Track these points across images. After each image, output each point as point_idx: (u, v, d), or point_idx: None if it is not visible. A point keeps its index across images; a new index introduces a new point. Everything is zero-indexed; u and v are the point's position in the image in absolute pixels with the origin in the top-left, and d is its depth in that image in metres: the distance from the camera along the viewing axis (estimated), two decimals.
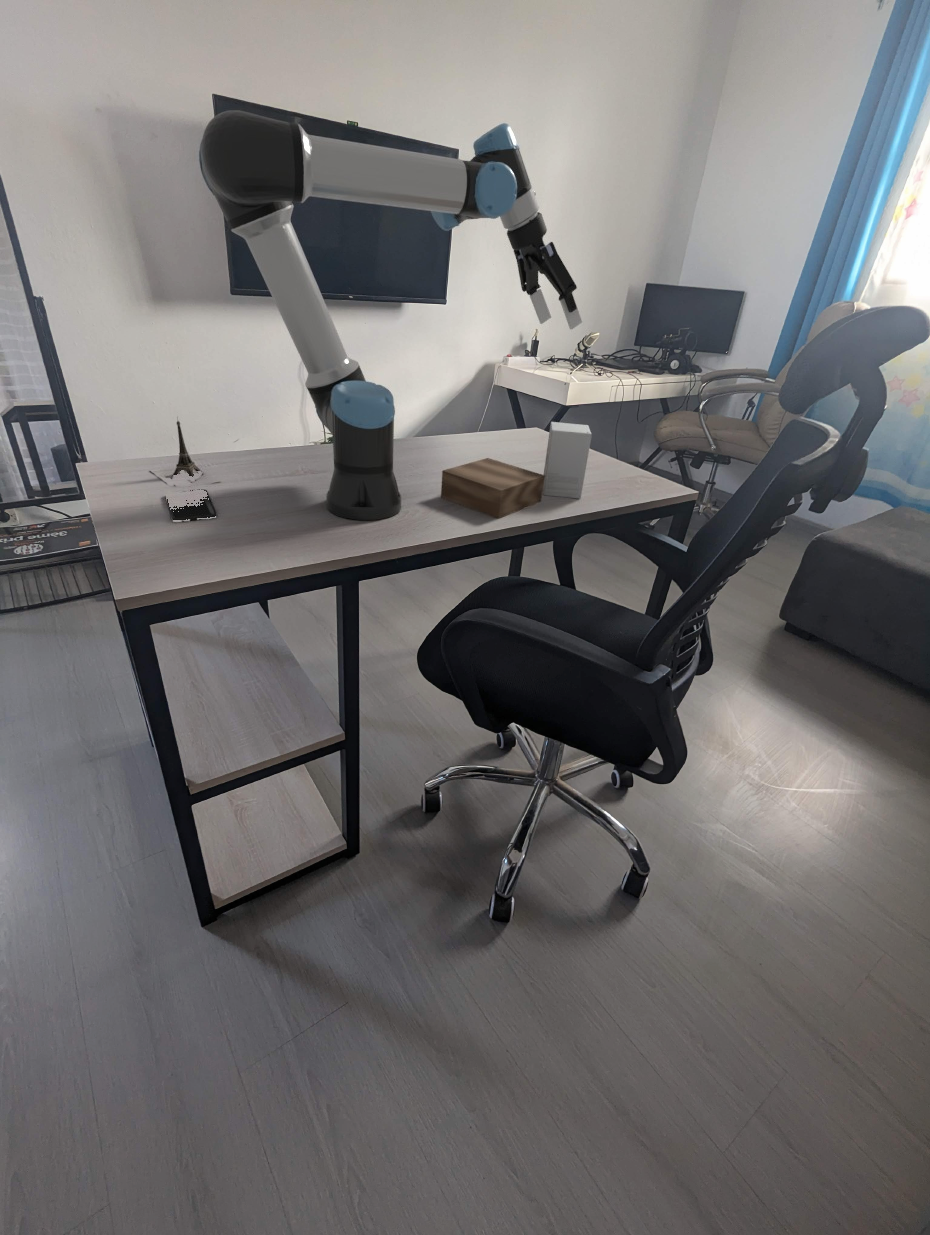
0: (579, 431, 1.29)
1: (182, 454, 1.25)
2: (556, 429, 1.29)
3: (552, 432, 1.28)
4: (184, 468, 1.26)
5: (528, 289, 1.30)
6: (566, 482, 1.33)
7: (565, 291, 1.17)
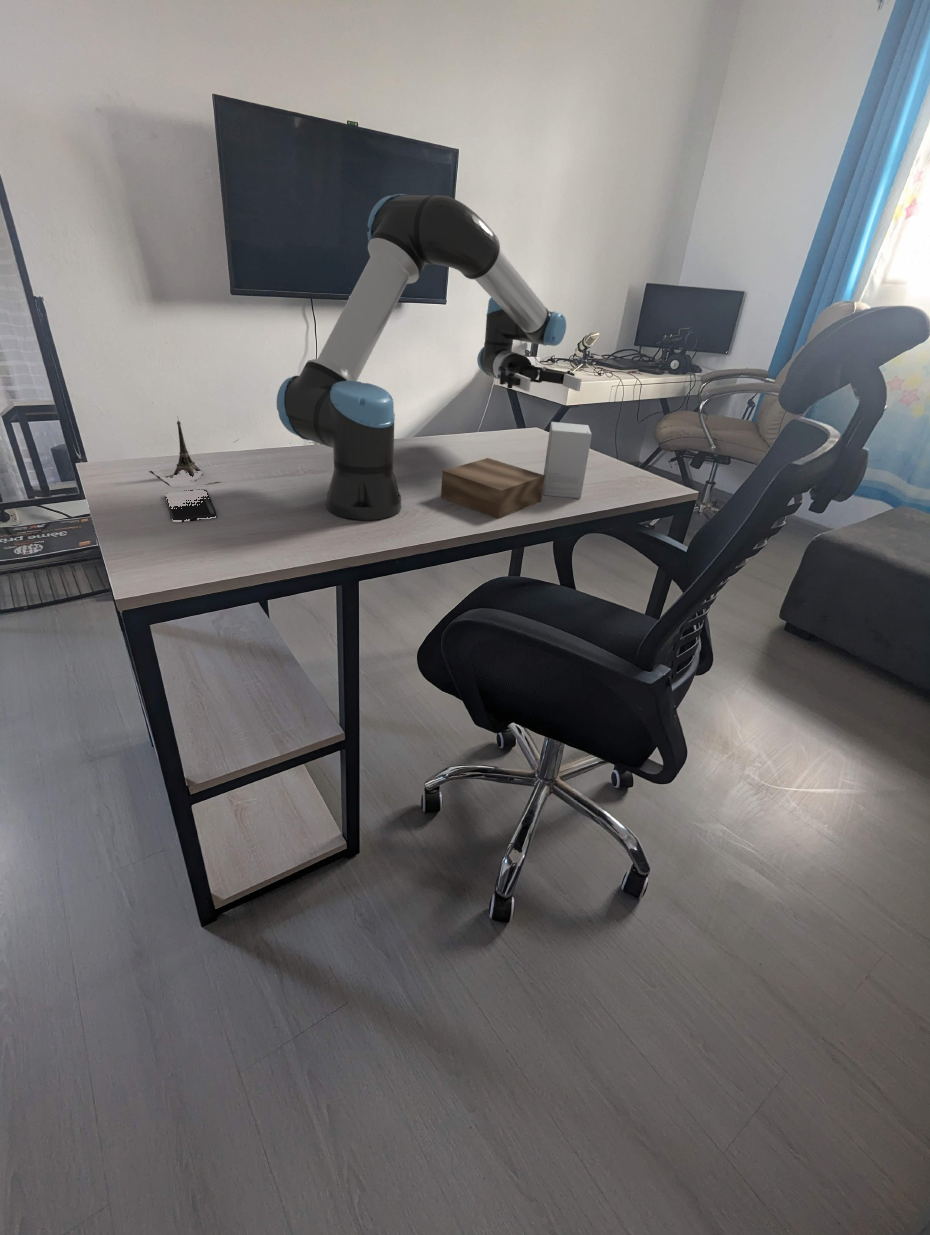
0: (579, 431, 1.29)
1: (182, 454, 1.25)
2: (556, 429, 1.29)
3: (552, 432, 1.28)
4: (184, 468, 1.26)
5: (513, 373, 1.38)
6: (566, 482, 1.33)
7: None
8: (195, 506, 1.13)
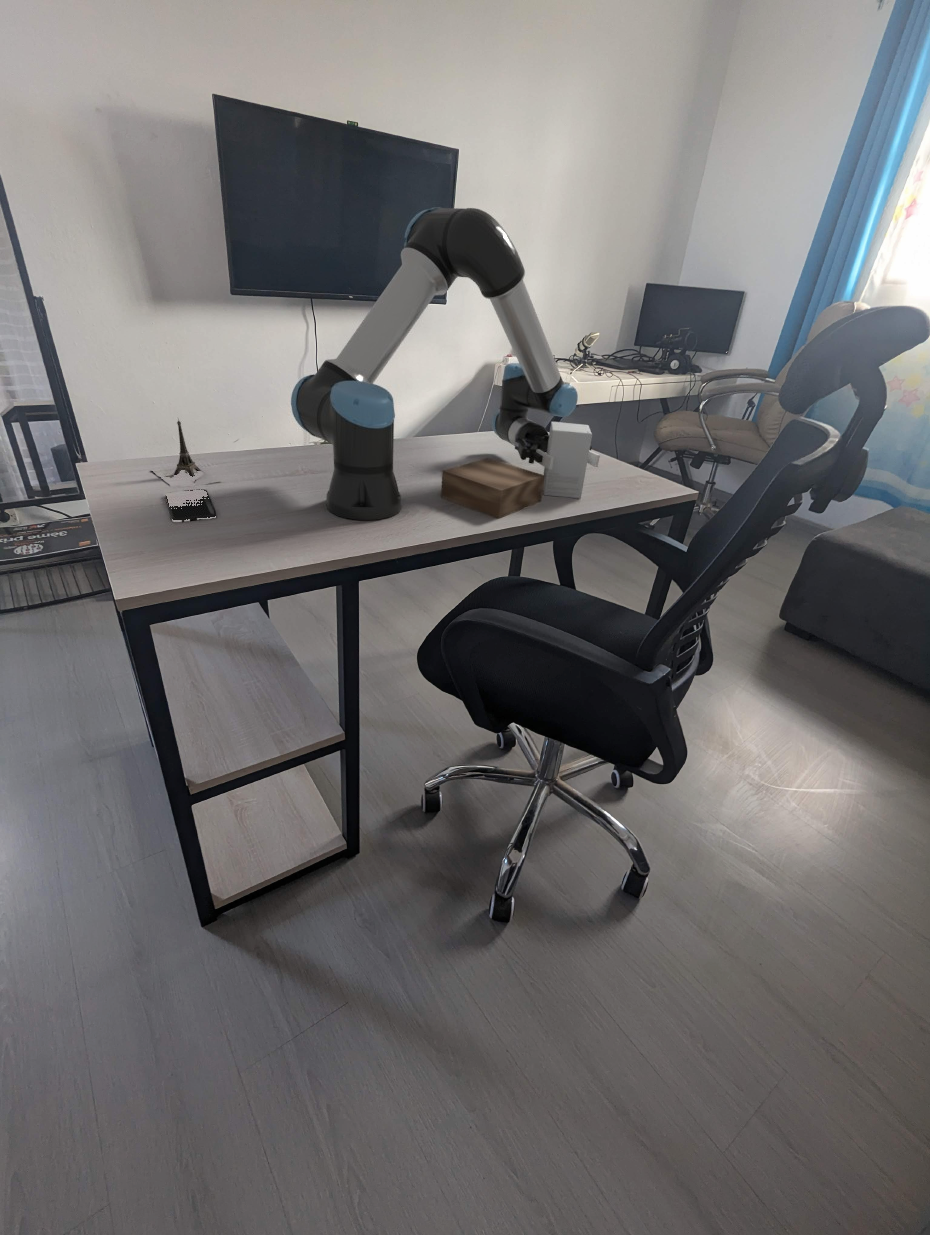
0: (579, 431, 1.29)
1: (183, 454, 1.25)
2: (556, 429, 1.29)
3: (552, 432, 1.28)
4: (184, 468, 1.26)
5: (534, 448, 1.35)
6: (566, 481, 1.33)
7: None
8: (195, 506, 1.13)
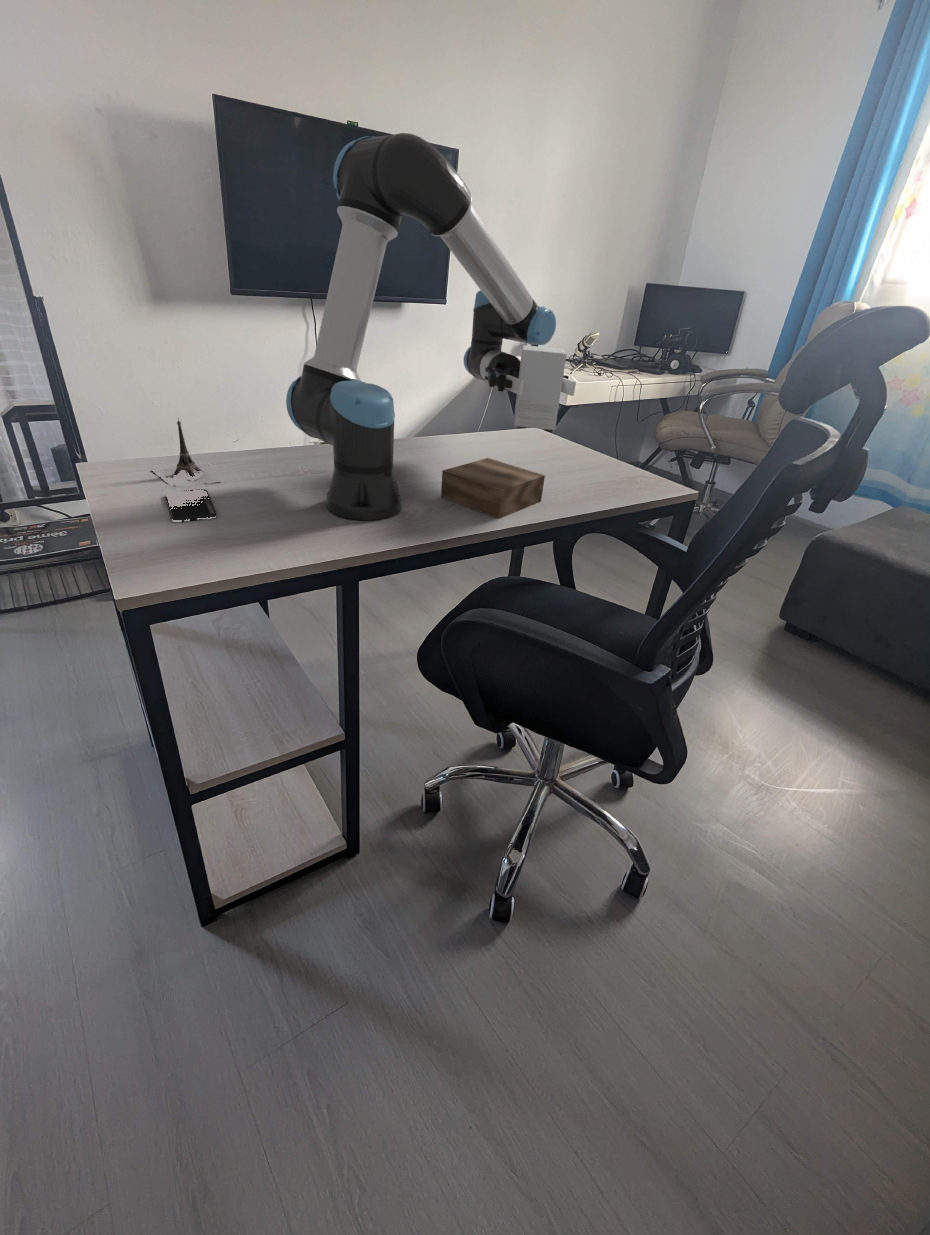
0: (552, 351, 1.16)
1: (183, 454, 1.25)
2: (527, 349, 1.16)
3: (523, 352, 1.16)
4: (184, 468, 1.26)
5: (504, 374, 1.23)
6: (539, 410, 1.21)
7: None
8: (195, 506, 1.13)
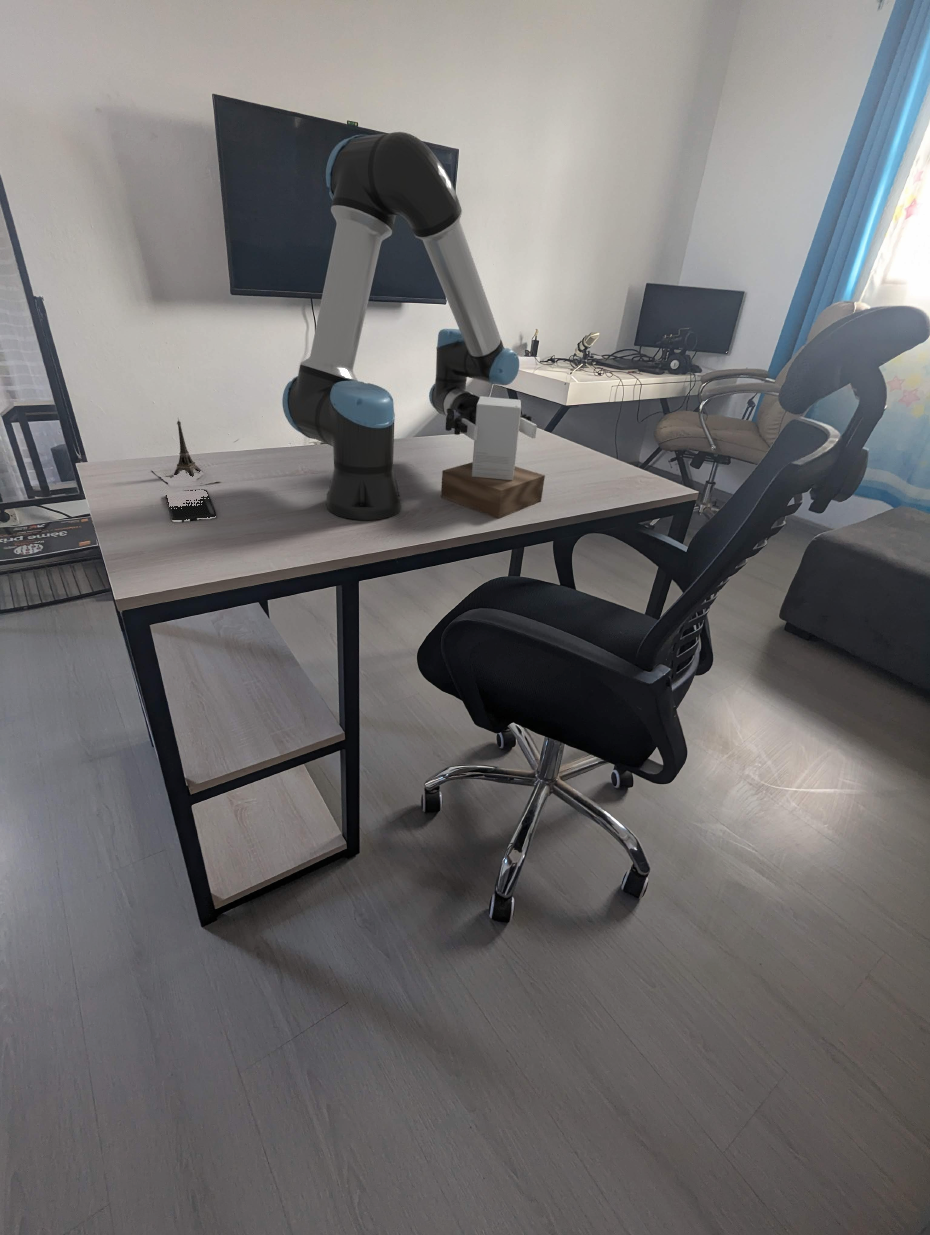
0: (507, 405, 1.17)
1: (183, 454, 1.25)
2: (482, 403, 1.17)
3: (477, 406, 1.16)
4: (184, 468, 1.26)
5: (460, 417, 1.23)
6: (496, 461, 1.22)
7: None
8: (195, 506, 1.13)
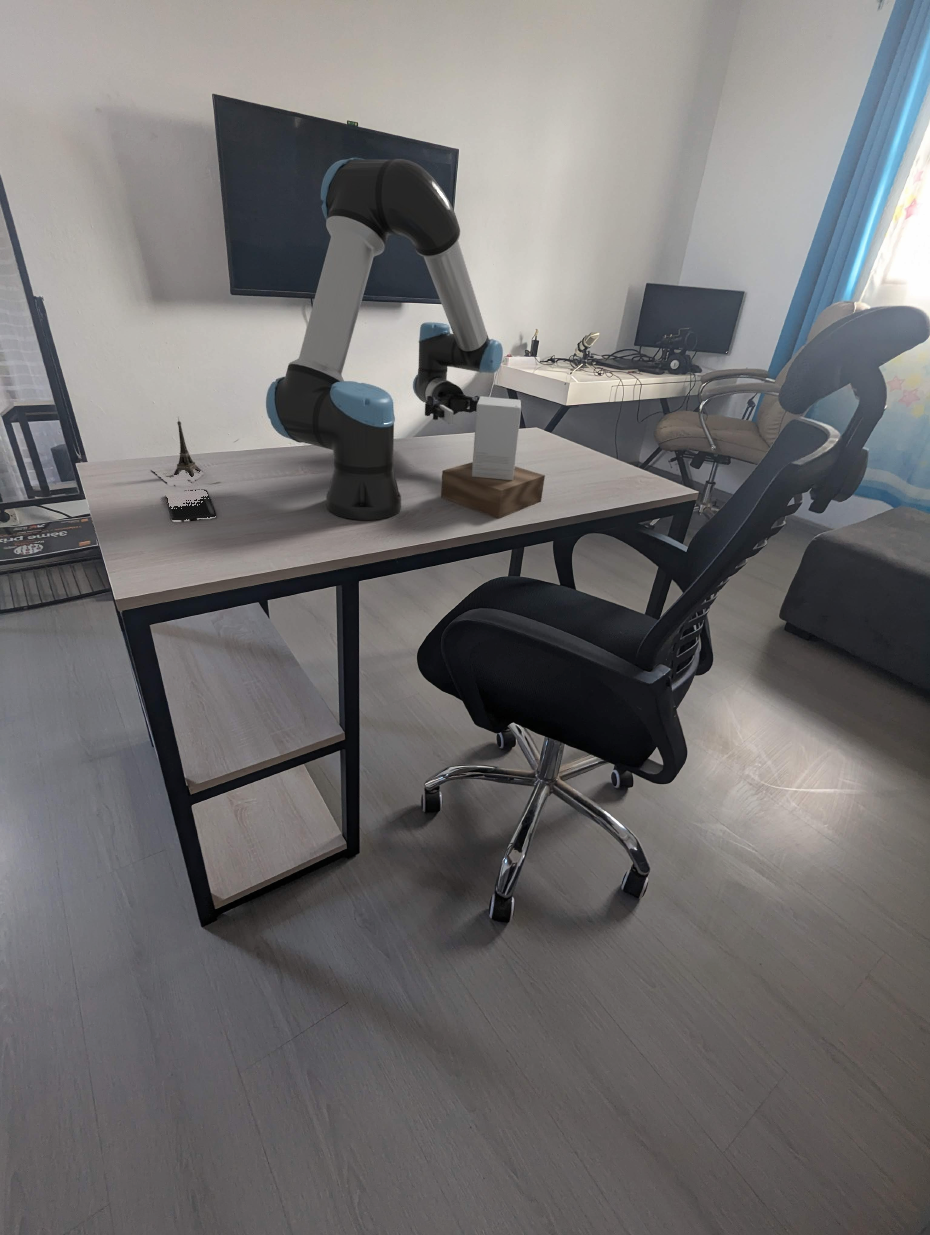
0: (507, 405, 1.17)
1: (183, 454, 1.25)
2: (482, 403, 1.17)
3: (477, 406, 1.16)
4: (184, 468, 1.26)
5: (438, 404, 1.33)
6: (496, 461, 1.22)
7: None
8: (195, 506, 1.13)
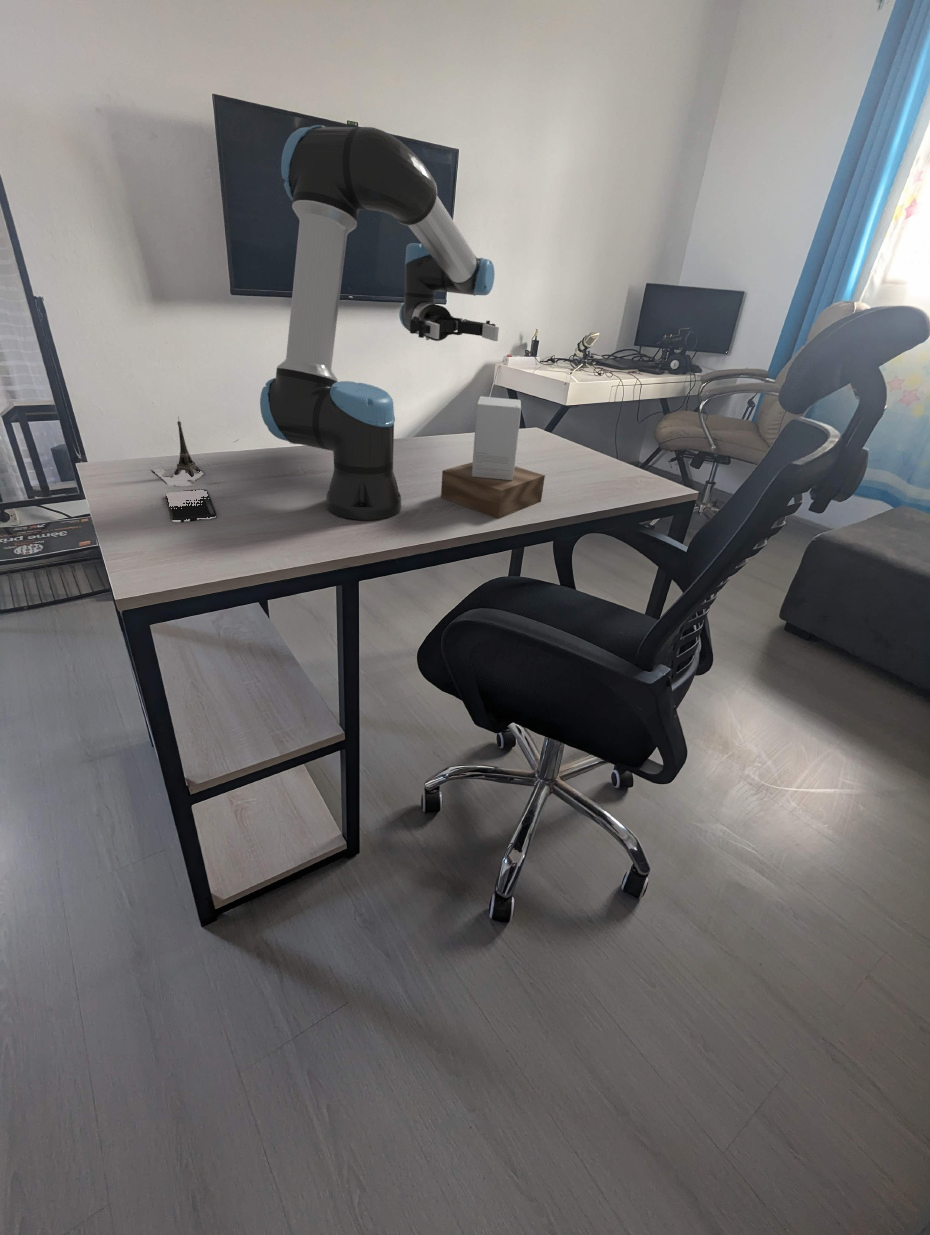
0: (507, 405, 1.17)
1: (183, 454, 1.25)
2: (482, 403, 1.17)
3: (477, 406, 1.16)
4: (184, 468, 1.26)
5: (424, 321, 1.26)
6: (496, 461, 1.22)
7: None
8: (195, 506, 1.13)
